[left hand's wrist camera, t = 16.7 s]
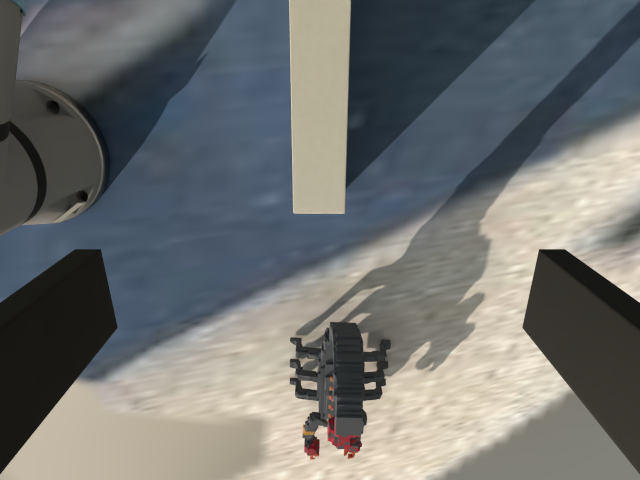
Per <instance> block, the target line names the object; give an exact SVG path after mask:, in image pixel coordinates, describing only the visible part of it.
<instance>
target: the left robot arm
mask: <svg viewBox="0 0 640 480" xmlns="http://www.w3.org/2000/svg"><path fill="white" fill-rule="evenodd" d="M26 11H27V9H26V5H25V4H24V0H0V236H1V235H3V234H5V233H7V232H9V231H11V230H12V229H14V228H16V227H18V226H20V225H29V224H48V223H57V222H62V221H66V220H69V219H72V218H74V217H76V216H78V215H79V214H81V213H83V212H85V211H86V210H88V209H89V208H90V207H92V206H93V205H94V204H95V203H96V202H97V201H98V199H99V198H100V197H101V195H102V193H103V192H104V190H105V187H106V185H107V181H108V176H109V157H108V151H107V147H106V144H105V141H104V139H103V136H102V134H101V132H100V130H99V128H98V127H97V125H96V124H95V122H94V121H93V119H92V118H91V117H90V115H89V114H88V113H87V112H86V111H85V110H84V109H83V108H82V107H81V106H80V105H79V104H78V103H77V102H76V101H74V100H73V99H72V98H70V97H69V96H67V95H66V94H64V93H63V92H61V91H59V90H57V89H55V88H53V87H50V86H48V85H45V84H41V83H37V82H32V81H15V79H16V69H17V60H18V51H19V42H20V33H21V24H22V15H26ZM116 329H117V323H116V318H115V314H114V309H113V304H112V300H111V295H110V290H109V286H108V281H107V276H106V272H105V267H104V262H103V258H102V253H101V249H75V250H74V251H72V252H71V253H69V254H68V255H67V256H65V257H64V258H62V259H61V260H60V261H58V262H57V263H55V264H54V265H53V266H51V267H50V268H48V269H47V270H46V271H44V272H43V273H41V274H40V275H39V276H37V277H36V278H34V279H33V280H32V281H30V282H29V283H27V284H26V285H25V286H23V287H22V288H20V289H19V290H18V291H16V292H15V293H13V294H12V295H11V296H9V297H8V298H6V299H5V300H4V301H2V302H1V303H0V474H1V473H2V471H3V470H4V469H5V467H6V466H7V465H8V464H9V462H10V461H11V460H12V459H13V458H14V456H15V455H16V454H17V453H18V451H19V450H20V449H21V448H22V446H23V445H24V444H25V443H26V441H27V440H28V439H29V438H30V436H31V435H32V434H33V433H34V431H35V430H36V429H37V428H38V426H39V425H40V424H41V423H42V421H43V420H44V419H45V418H46V416H47V415H48V414H49V413H50V411H51V410H52V409H53V408H54V406H55V405H56V404H57V403H58V401H59V400H60V399H61V398H62V396H63V395H64V394H65V393H66V391H67V390H68V389H69V388H70V386H71V385H72V384H73V383H74V381H75V380H76V379H77V378H78V376H79V375H80V374H81V373H82V371H83V370H84V369H85V368H86V366H87V365H88V364H89V363H90V361H91V360H92V359H93V358H94V356H95V355H96V354H97V353H98V351H99V350H100V349H101V348H102V346H103V345H104V344H105V343H106V341H107V340H108V339H109V338H110V336H111V335H112V334H113V333H114V331H115V330H116ZM523 329H524V330H525V331H526V333H527V334H528V335H529V336H530V338H531V339H532V340H533V341H534V343H535V344H536V345H537V346H538V348H539V349H540V350H541V351H542V353H543V354H544V355H545V356H546V358H547V359H548V360H549V361H550V363H551V364H552V365H553V366H554V368H555V369H556V370H557V371H558V373H559V374H560V375H561V376H562V378H563V379H564V380H565V381H566V383H567V384H568V385H569V386H570V388H571V389H572V390H573V391H574V393H575V394H576V395H577V396H578V398H579V399H580V400H581V401H582V403H583V404H584V405H585V406H586V408H587V409H588V410H589V411H590V413H591V414H592V415H593V416H594V418H595V419H596V420H597V421H598V423H599V424H600V425H601V426H602V428H603V429H604V430H605V431H606V433H607V434H608V435H609V436H610V438H611V439H612V440H613V441H614V443H615V444H616V445H617V446H618V448H619V449H620V450H621V451H622V453H623V454H624V455H625V456H626V458H627V459H628V460H629V461H630V463H631V464H632V465H633V466H634V468H635V469H636V470H637V471H638V473H639V474H640V303H639V302H638V301H636V300H635V299H634V298H632V297H631V296H629V295H628V294H627V293H625V292H624V291H622V290H621V289H620V288H618V287H617V286H615V285H614V284H613V283H611V282H610V281H608V280H607V279H606V278H604V277H603V276H601V275H600V274H599V273H597V272H596V271H594V270H593V269H592V268H590V267H589V266H587V265H586V264H585V263H583V262H582V261H580V260H579V259H578V258H576V257H575V256H573V255H572V254H571V253H569V252H568V251H566V250H565V249H539V253H538V258H537V262H536V267H535V272H534V276H533V281H532V286H531V290H530V295H529V300H528V304H527V309H526V314H525V318H524V323H523Z"/></svg>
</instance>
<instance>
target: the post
mask: <svg viewBox="0 0 640 480" xmlns="http://www.w3.org/2000/svg"><path fill="white" fill-rule="evenodd" d="M289 7H290V60H291V113H292V165H293V213H336V214H344V213H345V190H346V156H347V122H348V88H349V54H350V20H351V0H289Z"/></svg>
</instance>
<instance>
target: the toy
mask: <svg viewBox="0 0 640 480" xmlns="http://www.w3.org/2000/svg"><path fill="white" fill-rule="evenodd" d="M290 342H292V343H293V344H294V345H296V355H297V356H298V357H307V359H318V372H316V371H306V370H303V367H301V364H300V361H299V359H290V367H292V368H296V376H297V377H298V378H290V384H292V385H295V386H296V389H295V395H296V397H297V398H299V399H306V400H315V401H319V412H312V413H310V417H308V420H307V421H305V425H303V438H305V449H304V452H306V453H307V455H308V456H310V455H311V457H310V460H311V459H315V458H313V455H314V456H319V439H317V437H315V436H314V434H315V432H316V430H317V428H318V425H321V426H324V427H328V441H330V442H331V443H332V445H334V446H336V448H337V449H344V456H345V455H347V453H348V452H352V454H348V459H349V458H353V457H354V455H355V453H358V451H360V447H362V443H361V441H360V439H361V434H363V427H364V426H365V425H366V423H367V415H366V412H365V411H364V410H363V404H362V403H363V401H365V400H376V399H380V397H381V395H382V394H383V393H382V388H381V386H385V385H386V379H384V371H383V369H386V368H388V362H377V368H378V370H377V372H364V362H375V361H385V357H387V356H386V349H390V340H382V341H381V344H380V351H372V352H363V340H362V337H361V334H360V331H359V329H358V328H357V325H356V323H340V322H330V328H327V329H326V331H325V334H324V341H323V343H322V347H321V348H309V347H303V346H302V344H301V338H290ZM301 380H306V381H313V382H317V390H311V389H302V386H301ZM370 382H376V388H375V389H373V390H365V387H364V384H367V383H370Z"/></svg>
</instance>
